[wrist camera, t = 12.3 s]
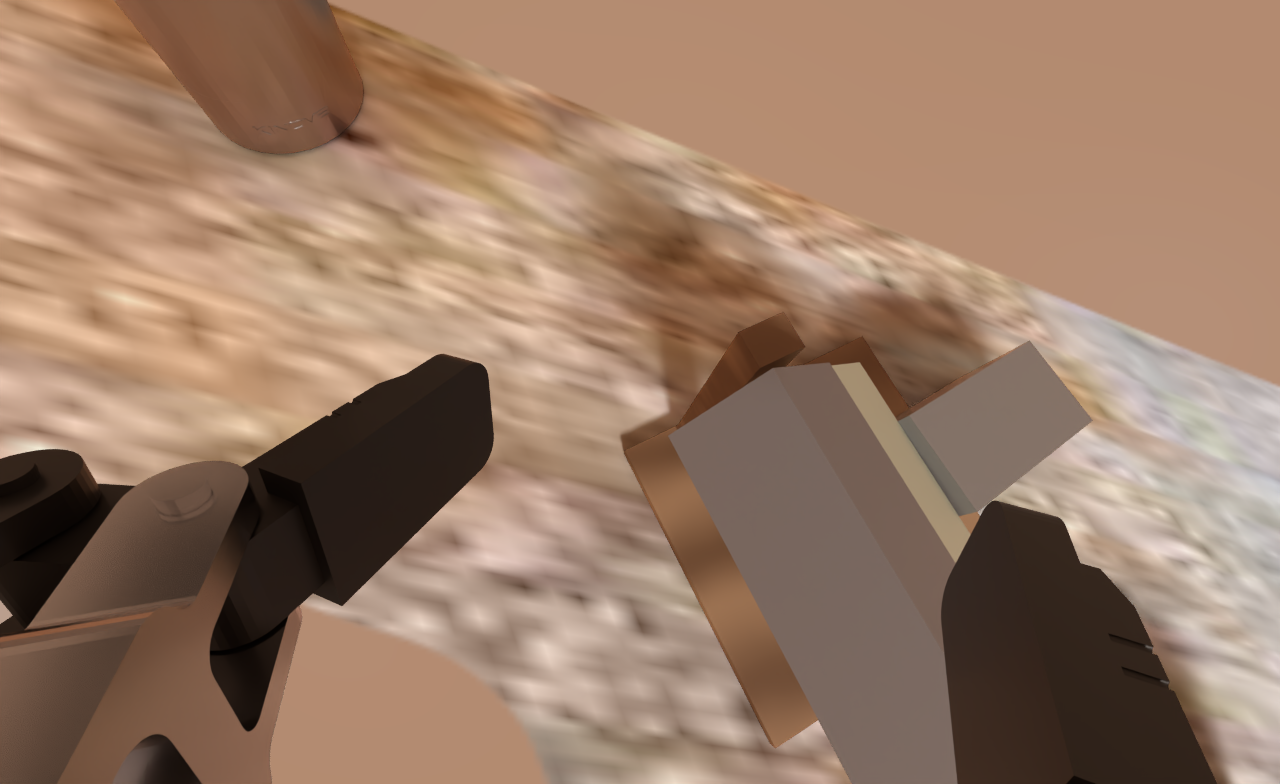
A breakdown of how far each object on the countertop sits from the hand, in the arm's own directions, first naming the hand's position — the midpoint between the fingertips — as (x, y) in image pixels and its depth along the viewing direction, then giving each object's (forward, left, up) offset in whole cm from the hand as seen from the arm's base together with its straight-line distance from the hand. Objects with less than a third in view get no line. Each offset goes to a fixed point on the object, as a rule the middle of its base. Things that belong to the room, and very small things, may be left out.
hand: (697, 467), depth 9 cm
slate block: (+4, +14, -17) cm, 22 cm away
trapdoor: (+4, +7, -12) cm, 14 cm away
